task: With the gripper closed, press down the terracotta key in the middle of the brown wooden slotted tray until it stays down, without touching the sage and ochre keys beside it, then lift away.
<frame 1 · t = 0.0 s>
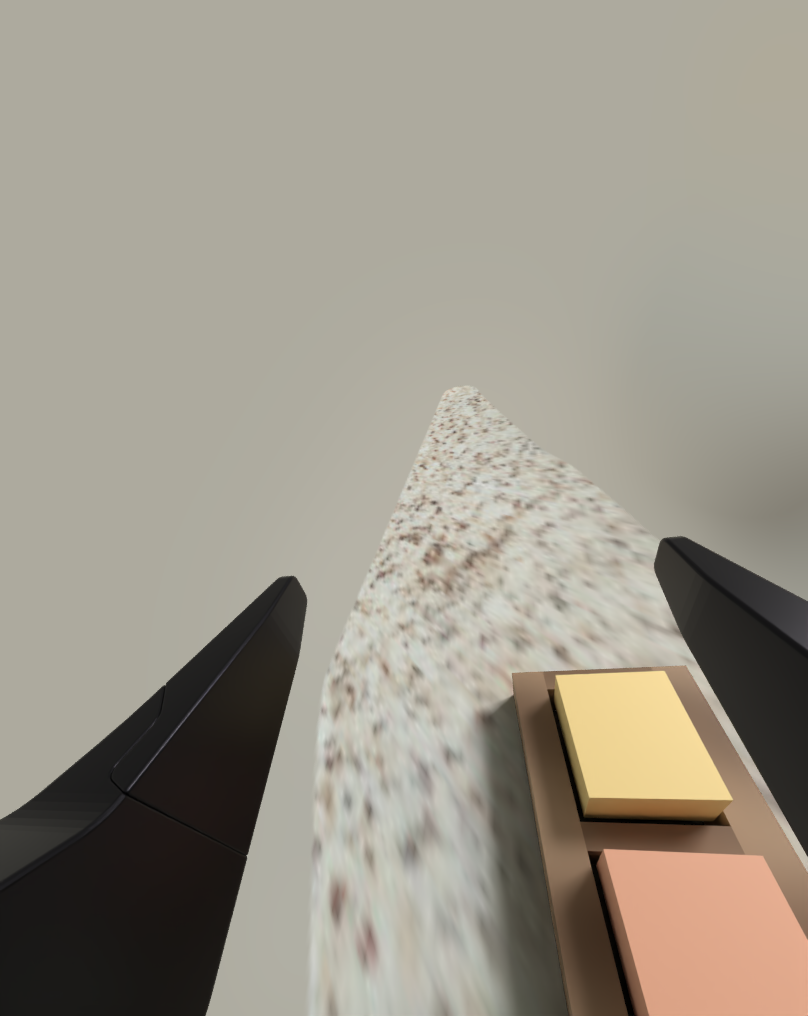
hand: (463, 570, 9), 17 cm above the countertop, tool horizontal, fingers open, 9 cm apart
brown wooden slotted tray: (688, 975, 13), on the countertop
ochre key: (626, 740, 17), point 3 cm above the countertop, slide at 0.0 cm
terracotta key: (713, 970, 11), point 3 cm above the countertop, slide at 0.0 cm
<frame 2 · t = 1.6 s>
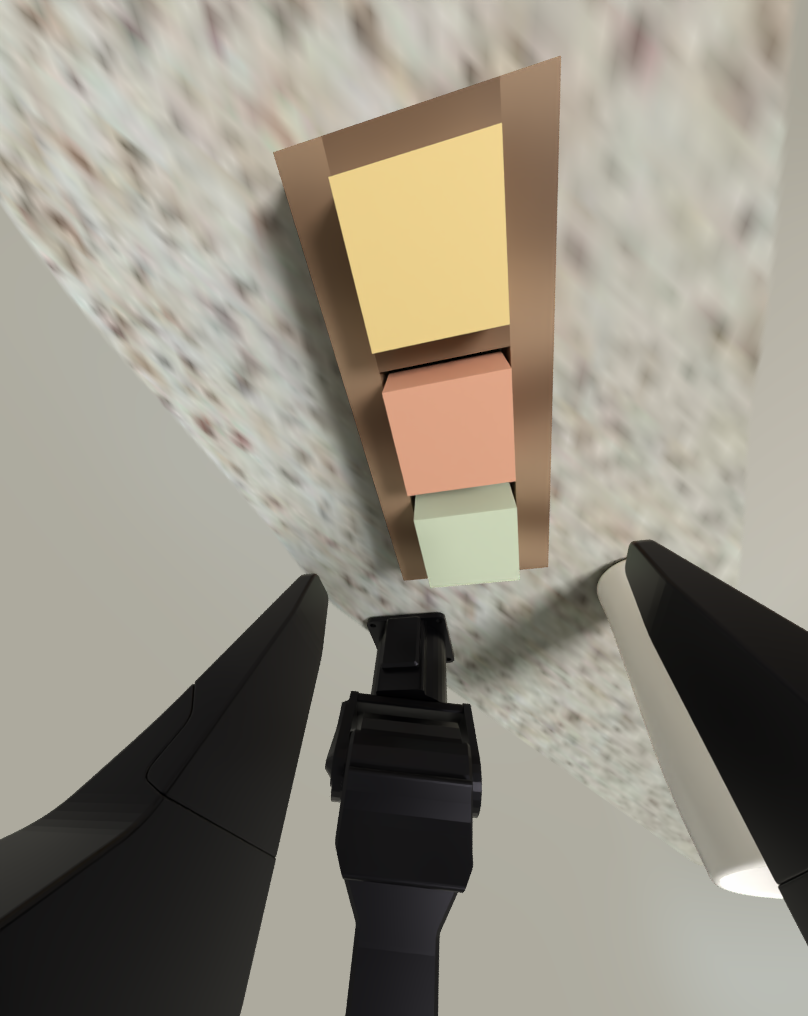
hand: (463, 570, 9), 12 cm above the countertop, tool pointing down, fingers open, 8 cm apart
brown wooden slotted tray: (449, 402, 19), on the countertop
sage key: (467, 535, 20), point 3 cm above the countertop, slide at 0.0 cm
ochre key: (427, 256, 13), point 3 cm above the countertop, slide at 0.0 cm
white tall cylinder: (632, 577, 25), on the countertop
terracotta key: (452, 427, 16), point 3 cm above the countertop, slide at 0.0 cm
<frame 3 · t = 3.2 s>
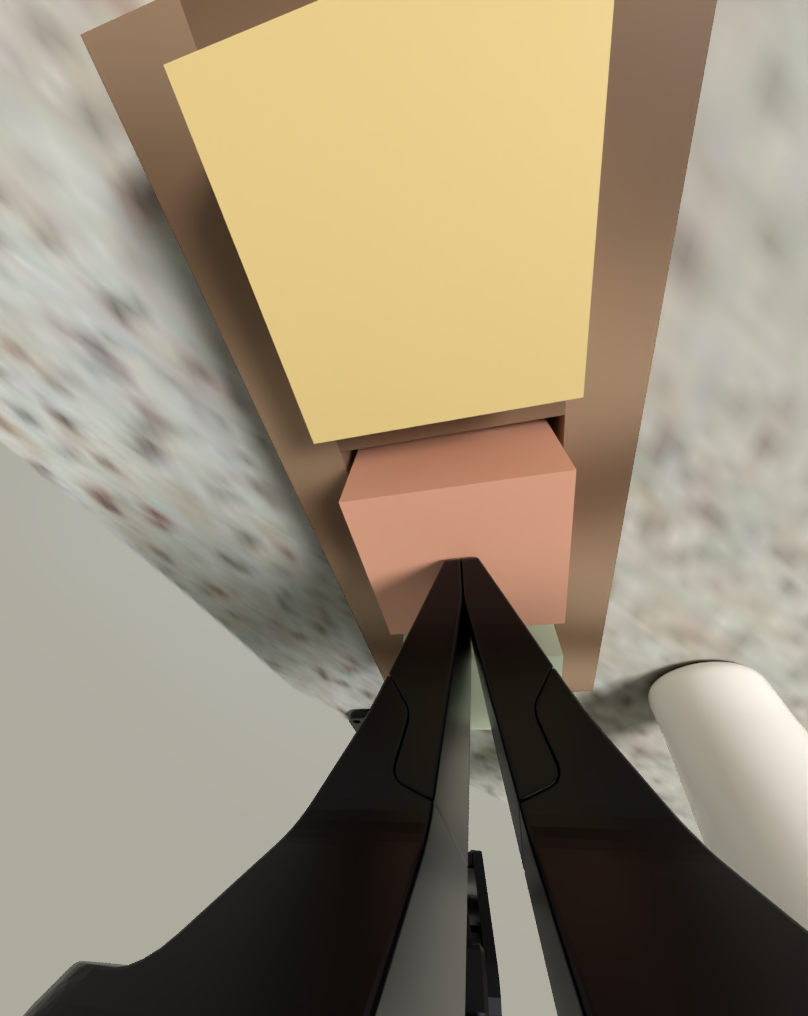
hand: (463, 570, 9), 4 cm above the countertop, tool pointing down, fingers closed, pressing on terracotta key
brown wooden slotted tray: (456, 476, 13), on the countertop
sage key: (481, 662, 14), point 3 cm above the countertop, slide at 0.0 cm
ochre key: (416, 258, 6), point 3 cm above the countertop, slide at 0.0 cm
white tall cylinder: (696, 679, 19), on the countertop
terracotta key: (461, 534, 10), point 3 cm above the countertop, slide at 0.1 cm, touching gripper
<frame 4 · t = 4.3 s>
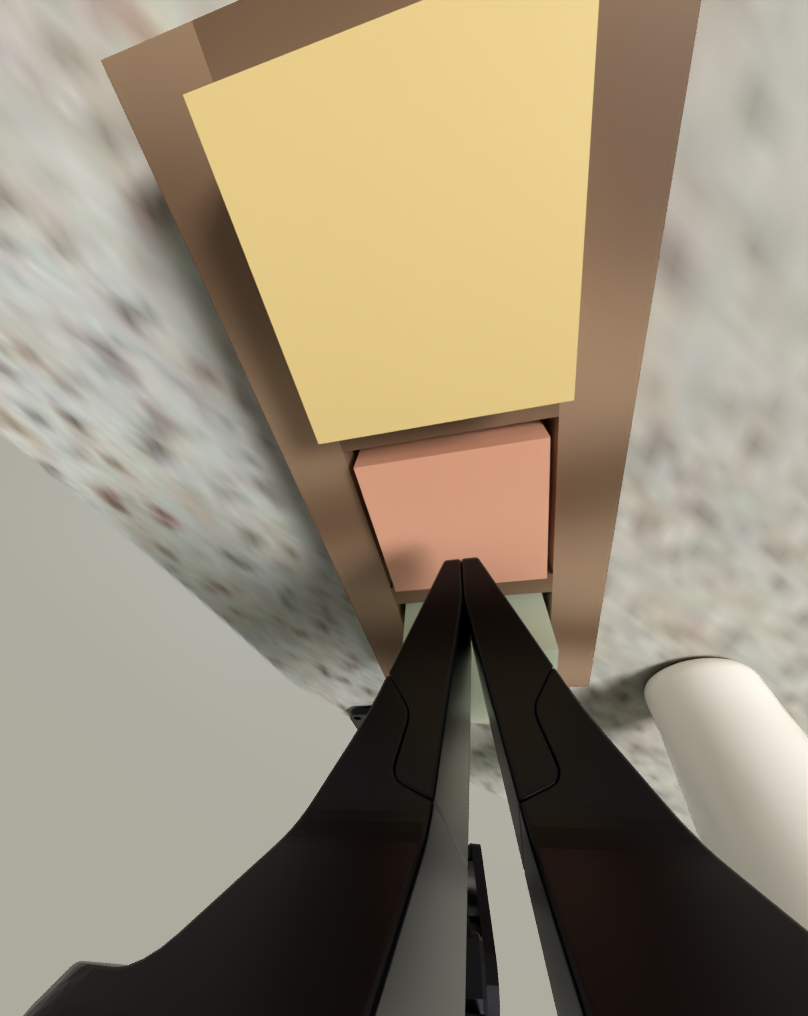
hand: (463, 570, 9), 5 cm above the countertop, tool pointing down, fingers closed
brown wooden slotted tray: (454, 475, 13), on the countertop
sage key: (479, 657, 14), point 3 cm above the countertop, slide at 0.0 cm
ochre key: (416, 268, 7), point 3 cm above the countertop, slide at 0.0 cm
white tall cylinder: (691, 676, 20), on the countertop
terracotta key: (457, 501, 12), point 2 cm above the countertop, slide at 1.6 cm
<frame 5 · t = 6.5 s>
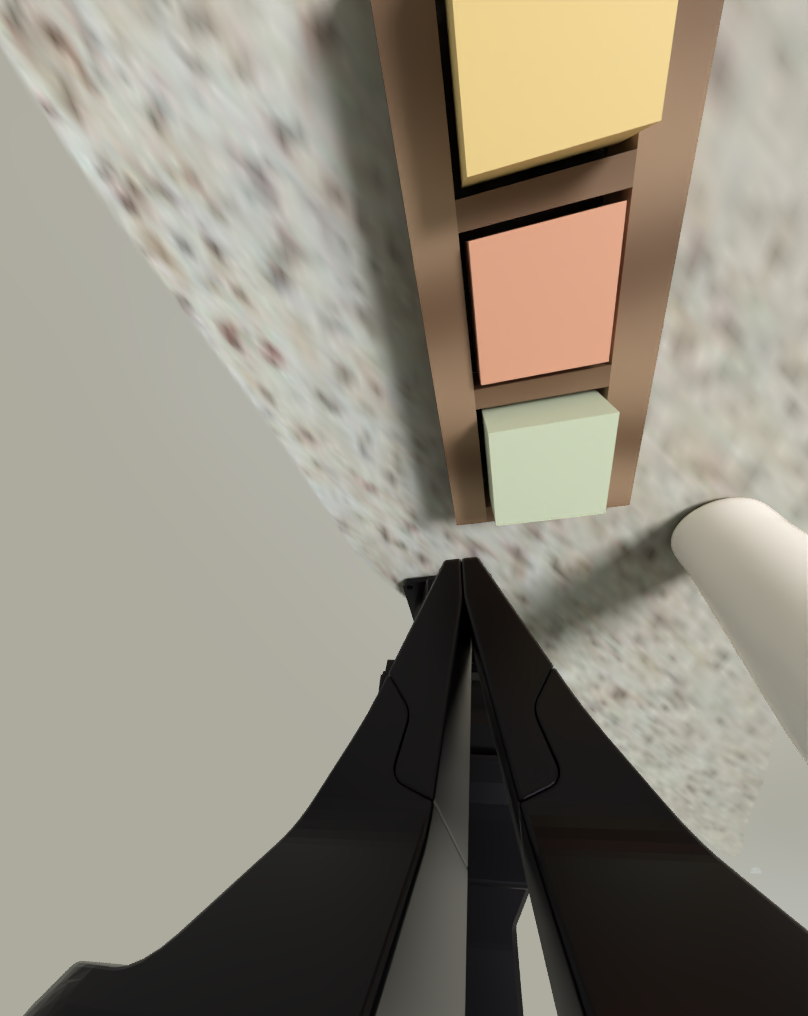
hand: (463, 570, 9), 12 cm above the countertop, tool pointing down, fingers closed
brown wooden slotted tray: (527, 296, 16), on the countertop
sage key: (543, 460, 17), point 3 cm above the countertop, slide at 0.0 cm
ochre key: (549, 30, 9), point 3 cm above the countertop, slide at 0.0 cm
white tall cylinder: (712, 526, 22), on the countertop
terracotta key: (535, 301, 14), point 2 cm above the countertop, slide at 1.6 cm
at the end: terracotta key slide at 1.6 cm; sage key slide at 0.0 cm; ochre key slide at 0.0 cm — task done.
